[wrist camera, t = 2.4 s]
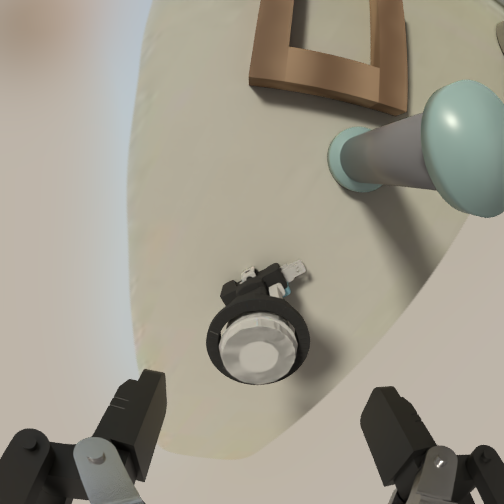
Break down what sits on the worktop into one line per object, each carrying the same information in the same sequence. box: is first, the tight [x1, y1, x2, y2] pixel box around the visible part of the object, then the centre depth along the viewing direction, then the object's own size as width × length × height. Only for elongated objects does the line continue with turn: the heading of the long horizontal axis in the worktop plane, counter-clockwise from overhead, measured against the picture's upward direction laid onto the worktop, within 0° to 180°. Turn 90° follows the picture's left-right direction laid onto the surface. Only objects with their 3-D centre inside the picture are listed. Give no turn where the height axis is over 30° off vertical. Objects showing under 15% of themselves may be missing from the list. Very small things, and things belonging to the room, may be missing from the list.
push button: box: [206, 259, 310, 385], centre depth 18 cm, size 7×5×10 cm
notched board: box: [249, 0, 407, 116], centre depth 17 cm, size 12×12×2 cm
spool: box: [327, 80, 504, 218], centre depth 14 cm, size 5×5×14 cm
